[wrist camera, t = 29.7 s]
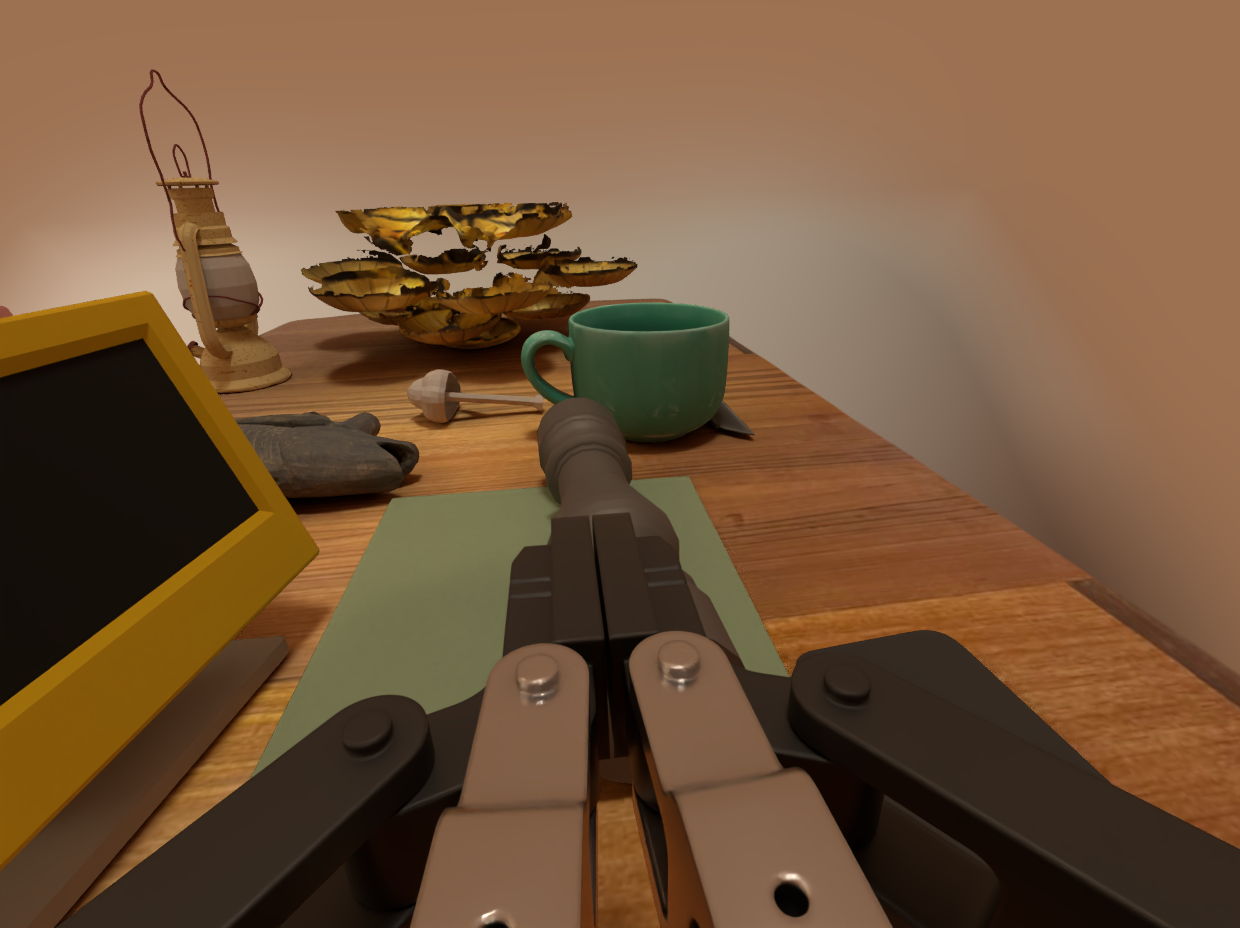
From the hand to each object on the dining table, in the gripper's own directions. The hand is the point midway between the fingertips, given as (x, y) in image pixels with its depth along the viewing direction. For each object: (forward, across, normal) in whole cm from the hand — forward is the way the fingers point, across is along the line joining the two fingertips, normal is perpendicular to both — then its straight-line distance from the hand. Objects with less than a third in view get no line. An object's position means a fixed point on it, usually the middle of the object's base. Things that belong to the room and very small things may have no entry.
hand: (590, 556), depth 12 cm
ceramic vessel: (+33, +23, +12) cm, 42 cm away
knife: (+40, -14, +12) cm, 44 cm away
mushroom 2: (+44, +8, +12) cm, 46 cm away
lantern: (+61, +36, +12) cm, 72 cm away
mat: (+16, +2, +12) cm, 20 cm away
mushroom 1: (+74, +11, +12) cm, 76 cm away
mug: (+38, -5, +12) cm, 40 cm away
